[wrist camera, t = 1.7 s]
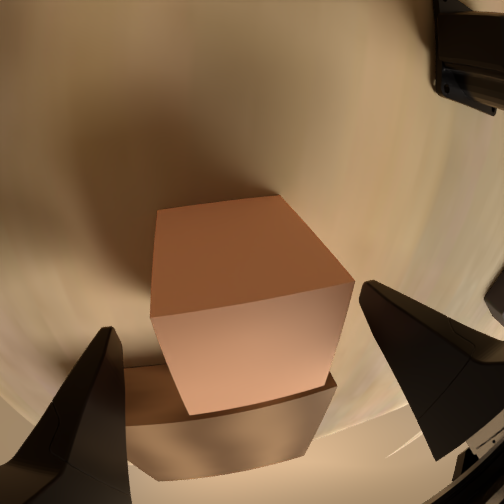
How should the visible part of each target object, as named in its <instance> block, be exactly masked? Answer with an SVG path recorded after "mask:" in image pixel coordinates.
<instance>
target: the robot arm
mask: <svg viewBox="0 0 504 504" xmlns="http://www.w3.org/2000/svg"><path fill="white" fill-rule="evenodd" d="M433 4H434V15H435V30H436V91H437V93H438V95H439V96H441V97H444V98H447V99H449V100H452V101H455V102H458V103H461V104H463V105H466V106H469V107H471V108H474V109H476V110H479V111H481V112H484V113H486V114H488V115H491V116H494V115H495V114H496V110H497V108H498V109H501V110H504V13H496V12H479V11H472V10H471V9H470V8H468V7H467V6H465V5H464V4H463V3H461V2H460V1H458V0H433ZM359 303H360V306H361V308H362V311H363V313H364V315H365V317H366V320H367V322H368V324H369V327H370V329H371V331H372V334H373V336H374V338H375V340H376V342H377V343H378V345H379V347H380V349H381V351H382V352H383V354H384V356H385V358H386V360H387V362H388V364H389V366H390V367H391V369H392V371H393V373H394V375H395V377H396V379H397V381H398V383H399V385H400V387H401V389H402V391H403V393H404V395H405V397H406V399H407V401H408V403H409V405H410V407H411V409H412V411H413V413H414V415H415V417H416V419H417V422H418V424H419V426H420V428H421V430H422V432H423V435H424V437H425V439H426V441H427V443H428V446H429V448H430V450H431V452H432V455H433V457H434V459H435V461H438V460H439V459H441V458H442V457H444V456H445V455H447V454H448V453H450V452H451V451H453V450H454V449H455V448H457V447H458V446H460V445H461V444H462V443H464V442H465V441H466V443H467V444H468V446H469V447H468V448H467V449H465V450H464V451H463V452H462V453H461V454H459V455H458V457H457V462H456V466H455V471H454V475H453V479H452V481H453V482H452V483H451V484H450V485H448V486H447V487H445V488H444V489H443V490H441V491H440V492H439V493H437V494H436V495H435V496H433V497H432V498H430V499H429V500H427V501H426V502H424V503H423V504H504V341H501V340H498V339H495V338H493V337H490V336H488V335H486V334H484V333H481V332H479V331H476V330H474V329H472V328H470V327H467V326H465V325H463V324H461V323H459V322H457V321H455V320H453V319H451V318H449V317H447V316H445V315H443V314H442V313H440V312H438V311H436V310H434V309H432V308H430V307H428V306H426V305H424V304H422V303H420V302H418V301H416V300H414V299H412V298H410V297H408V296H406V295H404V294H402V293H400V292H398V291H396V290H394V289H392V288H389V287H387V286H385V285H383V284H381V283H379V282H377V281H375V280H370V281H366V282H364V283H363V285H362V289H361V293H360V296H359ZM130 495H131V494H130V486H129V475H128V463H127V448H126V421H125V378H124V366H123V352H122V344H121V341H120V339H119V337H118V335H117V333H116V331H115V329H114V328H113V327H112V326H109V327H102V328H101V329H100V330H99V331H98V333H97V334H96V336H95V337H94V338H93V340H92V341H91V343H90V344H89V346H88V347H87V348H86V350H85V351H84V353H83V354H82V356H81V357H80V359H79V360H78V361H77V363H76V364H75V366H74V367H73V369H72V370H71V372H70V373H69V375H68V376H67V378H66V380H65V381H64V383H63V384H62V386H61V387H60V389H59V390H58V392H57V394H56V395H55V397H54V398H53V400H52V402H51V403H50V405H49V406H48V408H47V410H46V411H45V413H44V414H43V416H42V417H41V419H40V421H39V422H38V423H37V425H36V426H35V428H34V429H33V431H32V432H31V434H30V435H29V436H28V437H27V439H26V440H25V442H24V443H23V444H22V446H21V447H20V449H19V450H18V452H17V453H16V454H15V456H14V457H13V458H12V459H11V460H10V461H8V462H7V463H5V464H3V465H1V466H0V504H132V501H131V496H130Z"/></svg>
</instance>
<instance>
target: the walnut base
mask: <svg viewBox="0 0 504 504" xmlns="http://www.w3.org/2000/svg"><path fill="white" fill-rule="evenodd" d="M124 378H125V421H126V448H127V460H128V461H130V462H131V463H132V464H134V465H135V466H137V467H138V468H139V469H141V470H142V471H143V472H145V473H146V474H148V475H149V476H151V477H152V478H154V479H155V480H157V481H173V480H186V479H195V478H203V477H211V476H218V475H225V474H230V473H235V472H241V471H246V470H251V469H256V468H260V467H264V466H268V465H272V464H276V463H280V462H283V461H287V460H291V459H294V458H298V457H301V456H304V455H305V453H306V450H307V449H308V447H309V445H310V443H311V441H312V439H313V437H314V435H315V434H316V432H317V429H318V427H319V425H320V423H321V421H322V419H323V417H324V415H325V413H326V411H327V409H328V406H329V404H330V402H331V400H332V397H333V395H334V393H335V391H336V388H337V384H336V382H335V381H334V379H333V377H332V375H331V373H330V371H329V373H328V376H327V379H326V382H325V384H324V385H323V386H320V387H317V388H314V389H310V390H307V391H304V392H300V393H297V394H293V395H289V396H285V397H282V398H278V399H274V400H269V401H265V402H261V403H256V404H252V405H247V406H242V407H237V408H232V409H227V410H221V411H215V412H209V413H203V414H196V415H189V413H188V411H187V409H186V407H185V405H184V402H183V400H182V398H181V396H180V393H179V391H178V389H177V387H176V384H175V382H174V380H173V377H172V375H171V372H170V370H169V367H168V365H167V364H162V365H154V366H145V367H135V368H124Z"/></svg>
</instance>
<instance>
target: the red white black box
mask: <svg viewBox="0 0 504 504" xmlns="http://www.w3.org/2000/svg"><path fill="white" fill-rule="evenodd" d="M484 301H485V302H486V304H487V306H488V308H489V310H490V312H491V314H492V316H493V317H494V318H495V319H496V320H497V321H498V322H499V323H500V324H501V325H503V326H504V270H503V272H502V273H501V274H500V276H499V277H498V279H497V280H496V282H495V283H494V285H493V286H492V287H491V289H490V290H489V291H488V293H487V294H486V295H485V297H484Z"/></svg>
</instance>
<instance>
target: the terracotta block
mask: <svg viewBox="0 0 504 504" xmlns="http://www.w3.org/2000/svg"><path fill="white" fill-rule="evenodd" d="M354 284H355V280H354V279H353V278H352V276H351V275H350V274H349V273H348V272H347V270H346V269H345V268H344V267H343V266H342V265H341V263H340V262H339V261H338V260H337V259H336V257H335V256H334V255H333V254H332V253H331V252H330V251H329V249H328V248H327V247H326V246H325V245H324V244H323V242H322V241H321V240H320V239H319V238H318V237H317V236H316V234H315V233H314V232H313V231H312V230H311V229H310V228H309V227H308V226H307V224H306V223H305V222H304V221H303V220H302V219H301V218H300V217H299V216H298V214H297V213H296V212H295V211H294V210H293V209H292V208H291V207H290V206H289V205H288V204H287V202H286V201H285V200H284V199H283V198H282V197H281V196H280V195H275V196H265V197H256V198H246V199H237V200H229V201H221V202H213V203H205V204H197V205H190V206H183V207H176V208H169V209H162V210H157V219H156V229H155V239H154V251H153V265H152V281H151V303H150V319H151V322H152V325H153V328H154V331H155V333H156V336H157V339H158V342H159V344H160V347H161V350H162V352H163V355H164V357H165V360H166V362H167V365H168V367H169V370H170V372H171V375H172V377H173V380H174V382H175V384H176V387H177V389H178V391H179V393H180V396H181V398H182V400H183V402H184V405H185V407H186V409H187V411H188V413H189V415H196V414H203V413H209V412H215V411H221V410H227V409H232V408H237V407H242V406H247V405H252V404H256V403H261V402H265V401H269V400H274V399H278V398H282V397H285V396H289V395H293V394H297V393H300V392H304V391H307V390H310V389H314V388H317V387H320V386H323V385H324V384H325V382H326V379H327V376H328V373H329V370H330V367H331V364H332V361H333V358H334V355H335V352H336V348H337V345H338V342H339V339H340V335H341V332H342V329H343V325H344V322H345V318H346V315H347V311H348V307H349V303H350V300H351V296H352V292H353V288H354Z"/></svg>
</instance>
